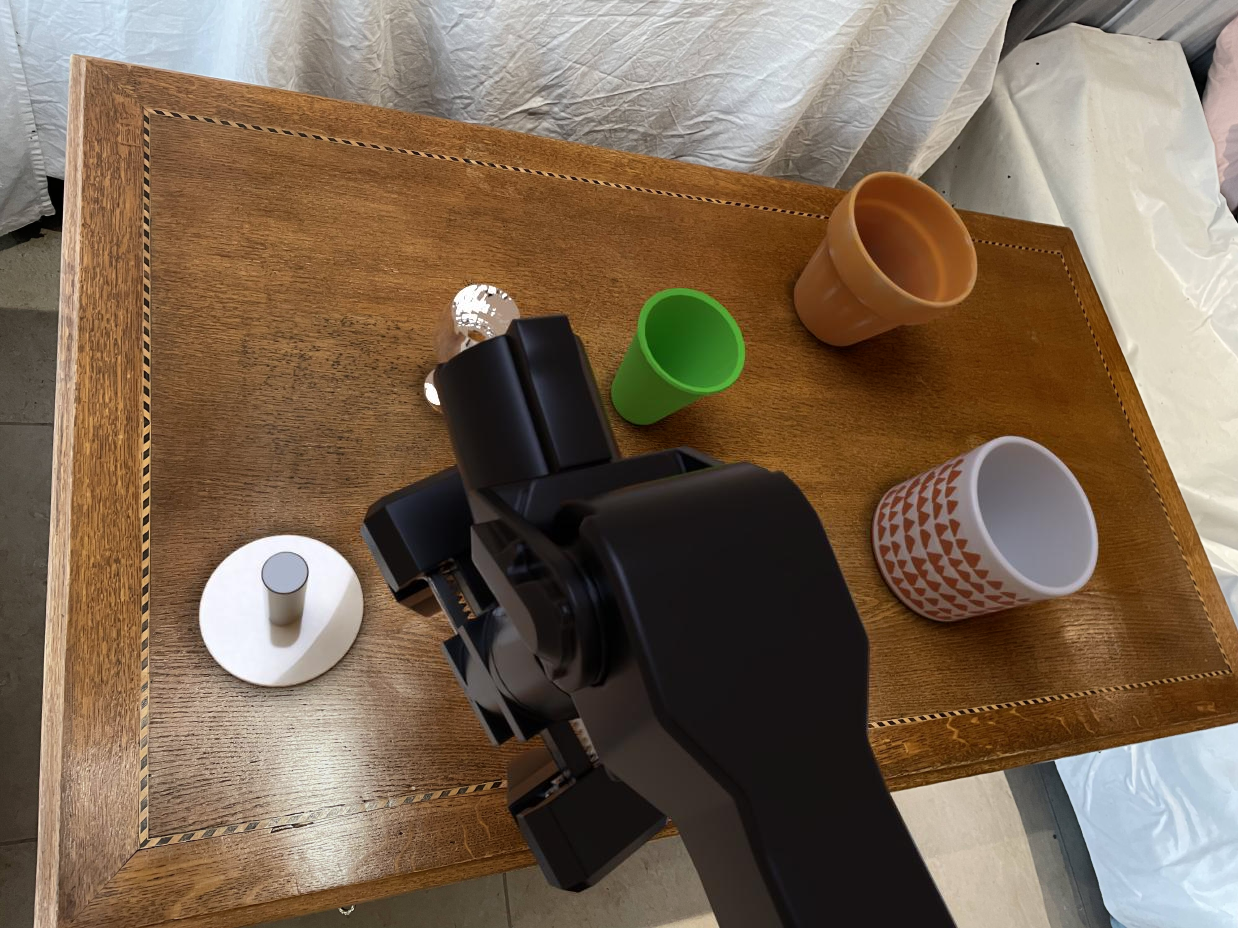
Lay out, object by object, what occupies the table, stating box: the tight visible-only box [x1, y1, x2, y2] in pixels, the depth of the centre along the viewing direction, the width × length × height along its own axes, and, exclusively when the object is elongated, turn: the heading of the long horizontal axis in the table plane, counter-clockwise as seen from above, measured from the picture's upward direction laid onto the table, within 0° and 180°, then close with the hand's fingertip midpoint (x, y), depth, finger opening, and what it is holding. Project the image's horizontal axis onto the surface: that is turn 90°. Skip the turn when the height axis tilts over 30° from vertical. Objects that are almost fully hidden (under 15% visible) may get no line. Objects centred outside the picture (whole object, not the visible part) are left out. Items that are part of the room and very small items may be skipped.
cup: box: [610, 287, 746, 426], centre depth 64 cm, size 9×9×11 cm
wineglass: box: [423, 283, 521, 414], centre depth 57 cm, size 6×6×12 cm
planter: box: [871, 435, 1099, 622], centre depth 70 cm, size 14×14×13 cm
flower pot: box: [793, 171, 978, 347], centre depth 76 cm, size 14×14×13 cm
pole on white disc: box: [198, 534, 365, 688], centre depth 48 cm, size 10×10×11 cm
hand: (476, 683), depth 43 cm, fingers open, 9 cm apart
